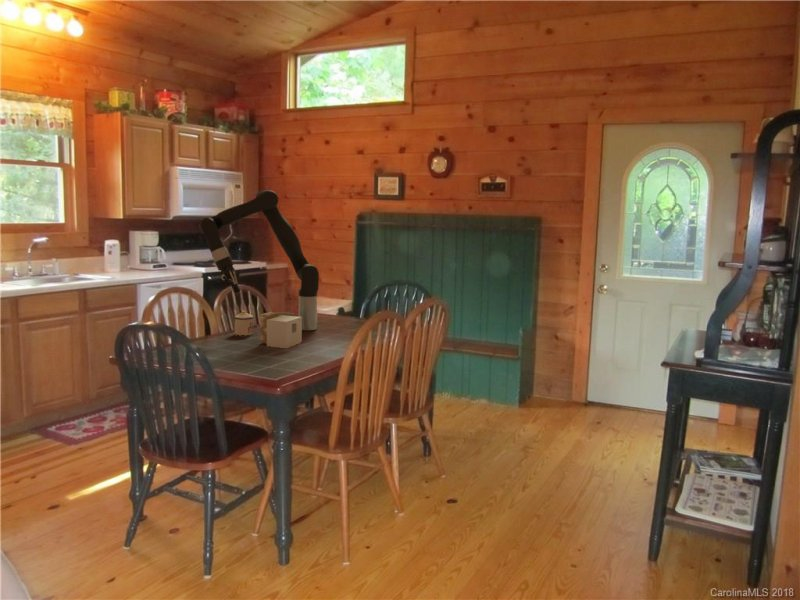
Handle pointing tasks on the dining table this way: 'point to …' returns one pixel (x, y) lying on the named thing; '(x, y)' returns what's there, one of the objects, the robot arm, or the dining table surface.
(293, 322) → the cardboard box
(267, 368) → the dining table surface
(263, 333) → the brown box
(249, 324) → the teacup with lid
